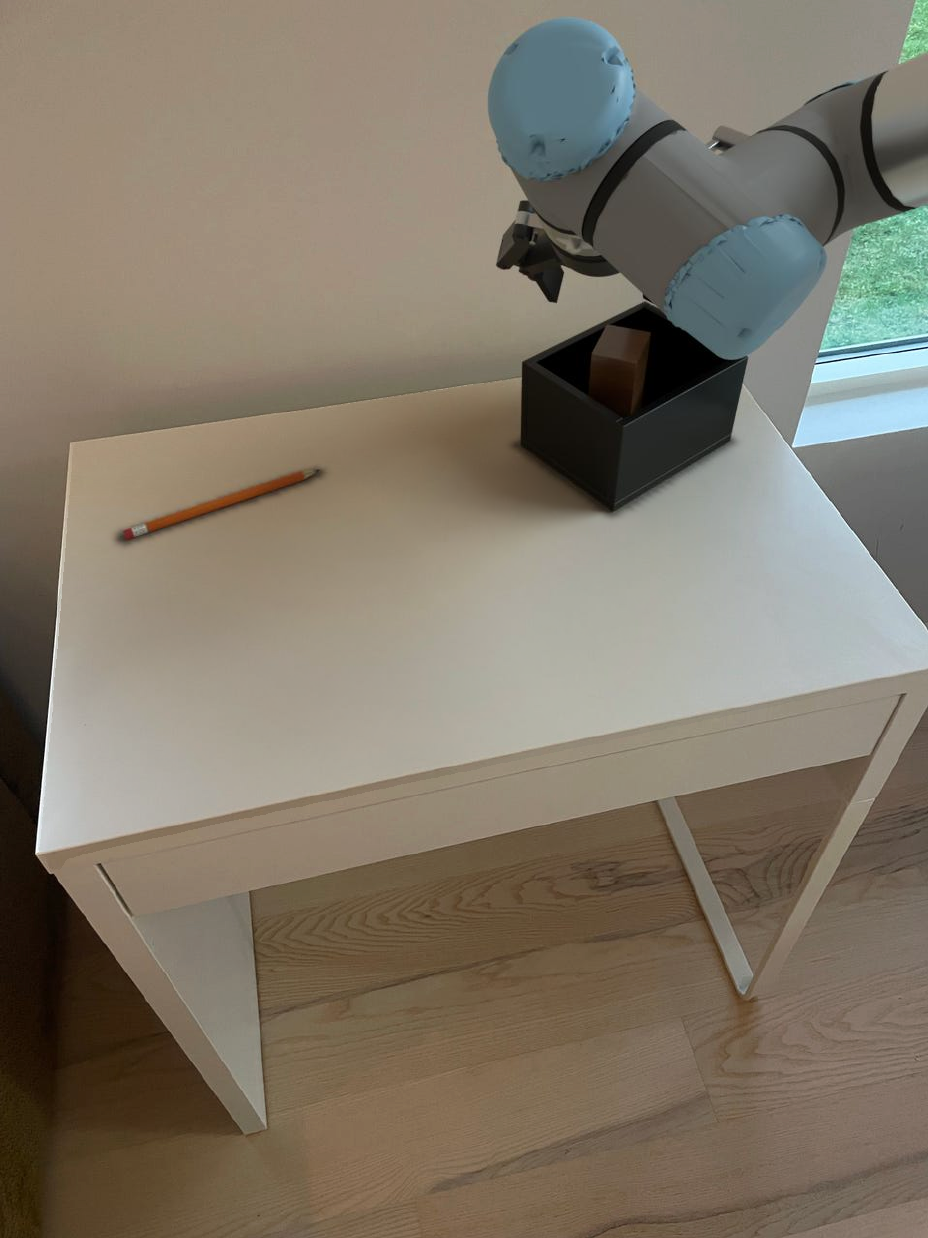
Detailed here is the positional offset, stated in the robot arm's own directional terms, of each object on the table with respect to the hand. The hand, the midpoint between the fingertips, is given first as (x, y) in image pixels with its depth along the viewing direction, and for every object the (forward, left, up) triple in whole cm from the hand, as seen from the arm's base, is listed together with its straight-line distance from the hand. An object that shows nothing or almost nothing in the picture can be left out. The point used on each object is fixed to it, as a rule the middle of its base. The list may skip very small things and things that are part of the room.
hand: (632, 299), depth 84 cm
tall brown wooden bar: (-2, +2, -14) cm, 14 cm away
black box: (-1, 0, -15) cm, 15 cm away
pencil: (+4, +38, -15) cm, 41 cm away
